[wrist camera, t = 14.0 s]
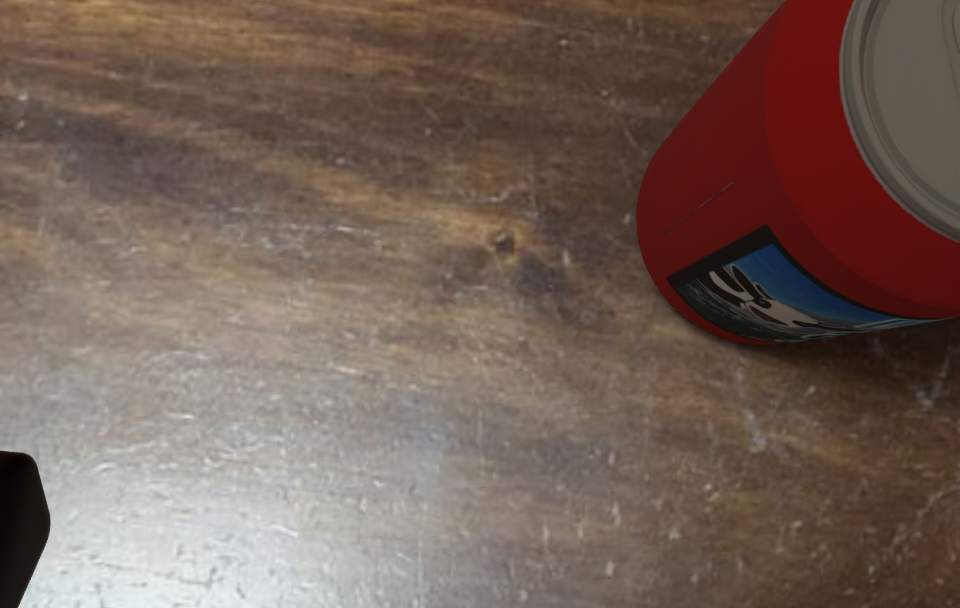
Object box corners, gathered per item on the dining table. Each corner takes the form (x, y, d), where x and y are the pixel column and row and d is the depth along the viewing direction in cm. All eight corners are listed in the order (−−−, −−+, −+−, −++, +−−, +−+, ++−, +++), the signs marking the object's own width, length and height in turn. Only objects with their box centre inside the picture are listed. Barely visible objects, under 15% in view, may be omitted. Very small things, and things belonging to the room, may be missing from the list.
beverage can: (678, 381, 24) (907, 367, 12) (593, 153, 25) (735, -73, 13) (902, 301, 25) (1331, 213, 13) (814, 79, 25) (1147, -204, 13)
